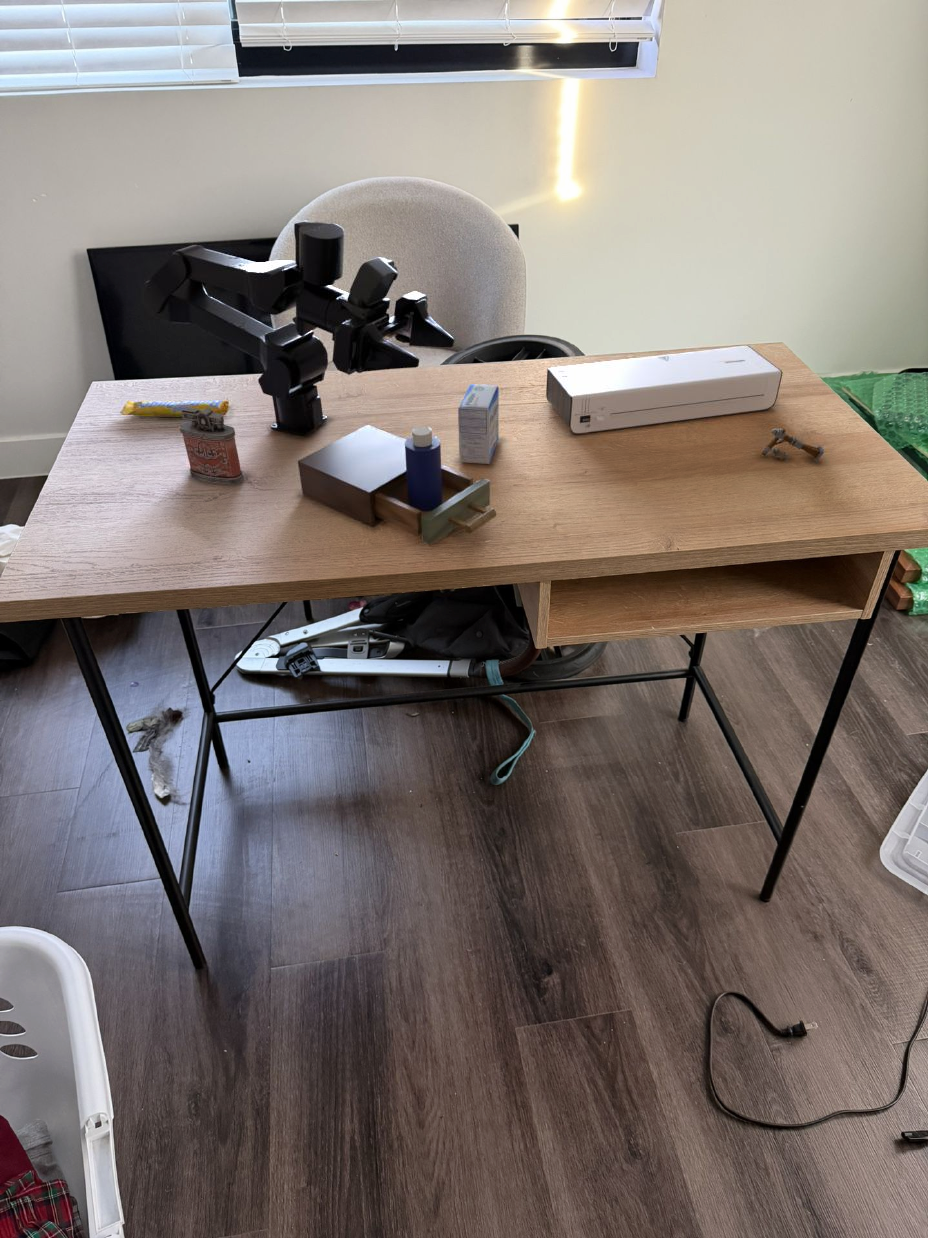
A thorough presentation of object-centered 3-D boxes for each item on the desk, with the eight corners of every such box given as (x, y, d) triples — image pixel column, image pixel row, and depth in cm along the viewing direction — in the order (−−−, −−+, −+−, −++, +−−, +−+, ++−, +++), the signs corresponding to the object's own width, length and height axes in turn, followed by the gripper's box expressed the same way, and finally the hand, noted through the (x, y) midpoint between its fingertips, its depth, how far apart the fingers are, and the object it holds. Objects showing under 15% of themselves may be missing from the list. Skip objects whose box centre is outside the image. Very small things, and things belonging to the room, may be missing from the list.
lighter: (248, 474, 121) (235, 408, 114) (236, 486, 118) (222, 419, 112) (199, 466, 123) (183, 400, 116) (185, 477, 120) (169, 411, 114)
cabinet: (439, 486, 118) (438, 452, 114) (372, 527, 110) (369, 492, 106) (370, 457, 124) (367, 424, 121) (302, 494, 116) (297, 460, 113)
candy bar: (234, 406, 138) (232, 395, 137) (229, 418, 135) (226, 407, 133) (129, 408, 138) (126, 397, 137) (122, 420, 135) (118, 409, 133)
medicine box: (489, 465, 122) (489, 408, 116) (458, 463, 122) (457, 406, 117) (498, 439, 128) (499, 384, 122) (469, 437, 128) (468, 382, 123)
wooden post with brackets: (755, 448, 122) (774, 422, 120) (802, 469, 124) (822, 444, 121) (757, 454, 121) (777, 428, 118) (805, 476, 123) (825, 450, 120)
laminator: (740, 380, 143) (747, 344, 139) (778, 412, 133) (787, 374, 129) (545, 404, 137) (547, 367, 133) (570, 439, 127) (573, 400, 124)
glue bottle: (402, 507, 110) (397, 435, 104) (417, 491, 113) (414, 419, 107) (433, 514, 109) (430, 441, 102) (448, 497, 112) (446, 426, 105)
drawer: (513, 514, 110) (513, 490, 108) (453, 556, 103) (452, 531, 101) (419, 475, 118) (418, 452, 116) (358, 512, 111) (355, 488, 109)
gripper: (299, 266, 104) (407, 309, 100) (382, 238, 118) (481, 275, 113) (294, 353, 111) (395, 397, 107) (373, 317, 125) (466, 355, 121)
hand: (436, 352), depth 112 cm, fingers open, 9 cm apart
